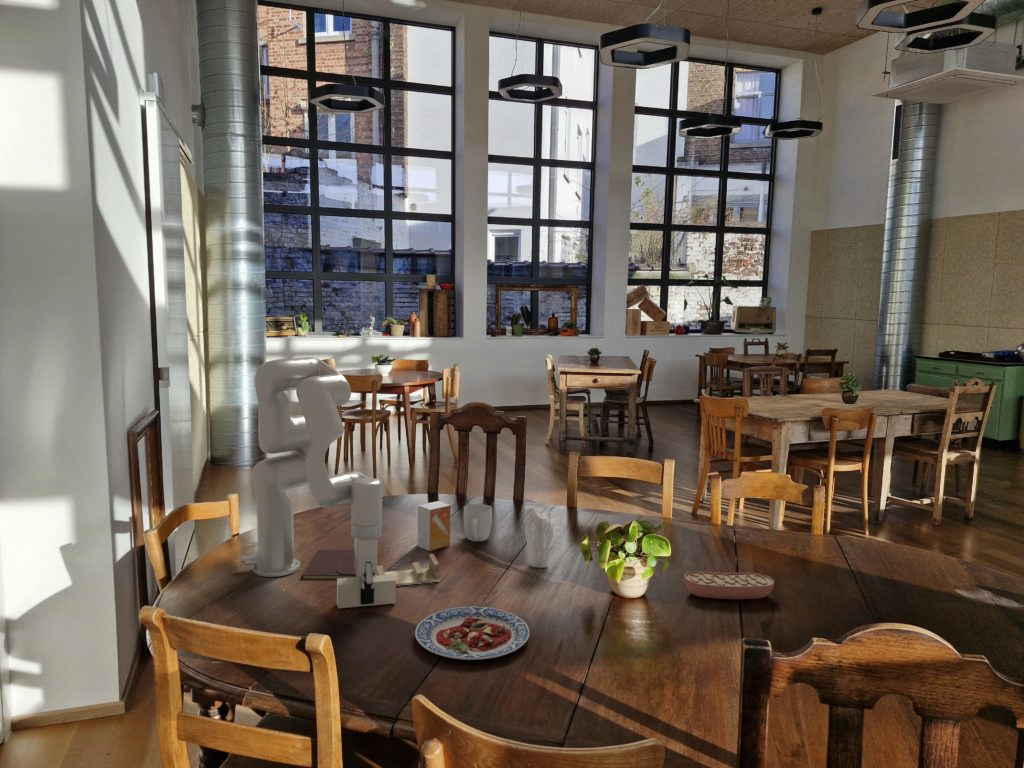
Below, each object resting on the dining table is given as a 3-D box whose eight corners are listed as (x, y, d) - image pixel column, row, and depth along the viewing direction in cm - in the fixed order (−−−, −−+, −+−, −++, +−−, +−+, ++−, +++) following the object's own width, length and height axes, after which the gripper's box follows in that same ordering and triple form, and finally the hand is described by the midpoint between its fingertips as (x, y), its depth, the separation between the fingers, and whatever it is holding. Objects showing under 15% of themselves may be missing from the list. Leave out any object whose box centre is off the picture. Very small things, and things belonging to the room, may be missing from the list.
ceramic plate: (468, 605, 186) (469, 594, 186) (551, 637, 170) (552, 624, 170) (391, 641, 167) (391, 629, 166) (476, 681, 150) (476, 667, 150)
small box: (429, 551, 223) (429, 509, 221) (417, 546, 228) (417, 505, 226) (450, 545, 229) (451, 504, 227) (437, 540, 233) (438, 500, 232)
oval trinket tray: (766, 590, 199) (767, 572, 199) (778, 606, 189) (780, 587, 189) (680, 588, 199) (681, 570, 199) (688, 604, 190) (689, 585, 189)
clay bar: (337, 608, 182) (337, 584, 181) (337, 601, 185) (337, 578, 184) (395, 603, 185) (395, 580, 185) (393, 596, 189) (393, 574, 188)
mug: (465, 533, 241) (466, 503, 240) (493, 534, 240) (493, 504, 239) (459, 546, 228) (459, 514, 227) (488, 548, 227) (488, 516, 226)
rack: (363, 589, 194) (363, 571, 194) (360, 577, 203) (360, 559, 202) (439, 582, 200) (439, 564, 199) (432, 570, 208) (433, 553, 208)
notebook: (300, 580, 201) (300, 573, 201) (317, 554, 220) (316, 548, 220) (356, 580, 201) (356, 573, 201) (368, 554, 221) (367, 548, 221)
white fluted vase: (553, 561, 217) (554, 501, 215) (552, 571, 209) (553, 509, 207) (525, 559, 218) (526, 499, 216) (522, 569, 210) (524, 508, 208)
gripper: (348, 519, 190) (348, 587, 192) (354, 541, 174) (353, 615, 176) (378, 517, 192) (377, 584, 194) (386, 539, 176) (385, 612, 178)
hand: (366, 598), depth 185 cm, fingers closed on clay bar, 4 cm apart
